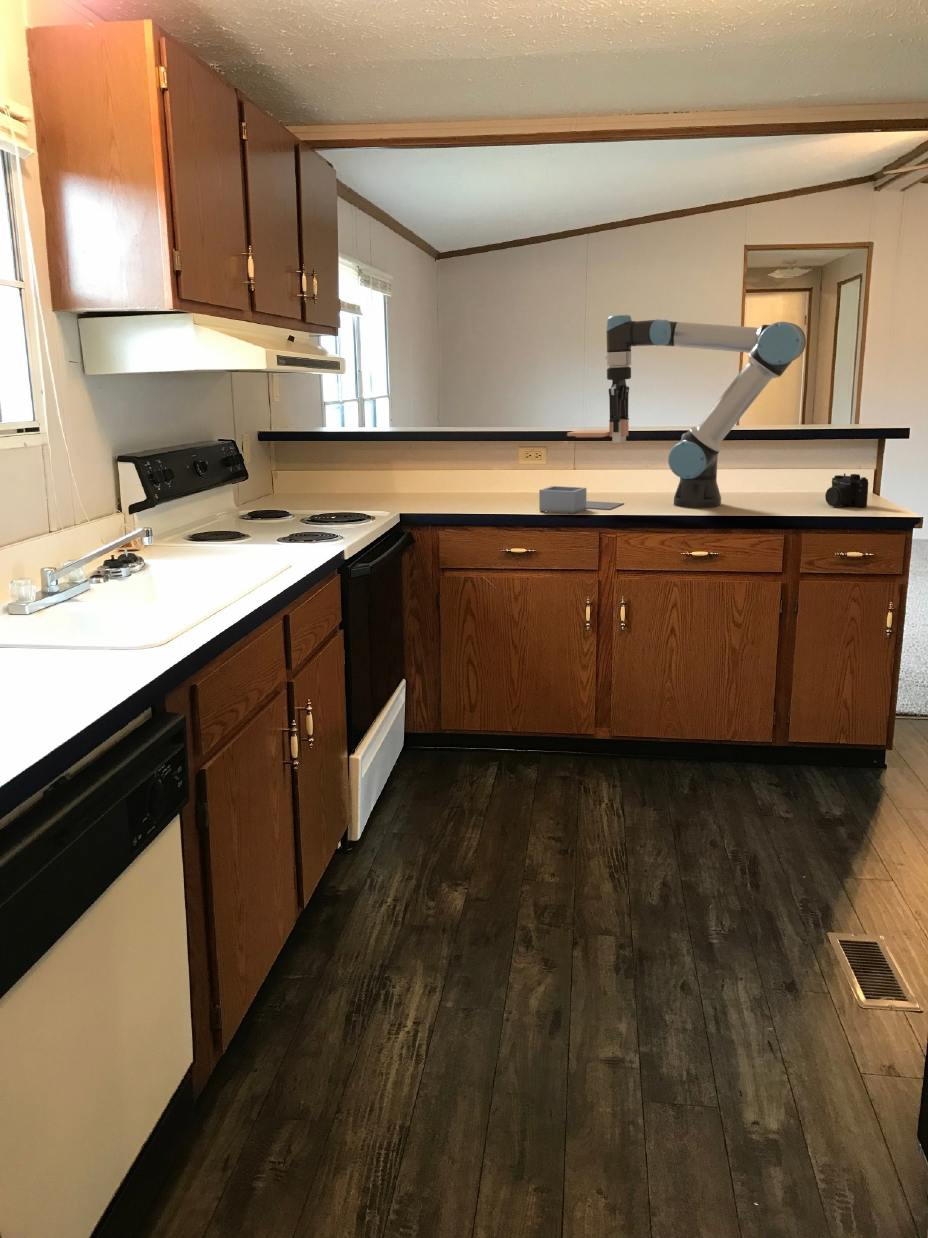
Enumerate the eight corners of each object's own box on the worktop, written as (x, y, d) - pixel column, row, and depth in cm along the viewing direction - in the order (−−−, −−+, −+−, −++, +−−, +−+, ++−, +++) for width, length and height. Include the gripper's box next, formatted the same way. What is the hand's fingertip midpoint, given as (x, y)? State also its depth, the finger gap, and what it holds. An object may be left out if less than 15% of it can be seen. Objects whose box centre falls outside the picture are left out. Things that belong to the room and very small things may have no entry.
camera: (813, 504, 321) (815, 473, 318) (839, 501, 324) (842, 471, 322) (842, 510, 308) (845, 478, 305) (870, 507, 312) (873, 475, 309)
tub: (586, 509, 321) (586, 487, 319) (574, 513, 312) (574, 491, 310) (552, 507, 326) (552, 485, 324) (539, 511, 318) (539, 489, 316)
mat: (624, 504, 329) (624, 503, 329) (609, 509, 318) (609, 508, 318) (576, 501, 337) (576, 500, 337) (561, 506, 326) (561, 505, 326)
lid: (631, 434, 320) (631, 418, 319) (621, 437, 310) (621, 421, 309) (579, 434, 328) (579, 419, 327) (567, 437, 318) (567, 421, 317)
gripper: (616, 366, 320) (616, 439, 326) (598, 367, 305) (599, 444, 311) (638, 365, 316) (638, 439, 322) (621, 366, 302) (622, 444, 308)
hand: (619, 441), depth 317 cm, fingers closed on lid, 4 cm apart
